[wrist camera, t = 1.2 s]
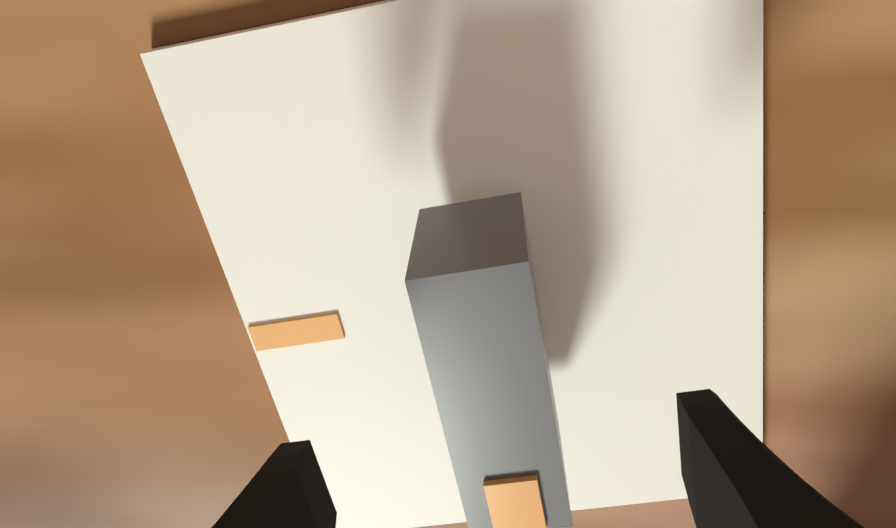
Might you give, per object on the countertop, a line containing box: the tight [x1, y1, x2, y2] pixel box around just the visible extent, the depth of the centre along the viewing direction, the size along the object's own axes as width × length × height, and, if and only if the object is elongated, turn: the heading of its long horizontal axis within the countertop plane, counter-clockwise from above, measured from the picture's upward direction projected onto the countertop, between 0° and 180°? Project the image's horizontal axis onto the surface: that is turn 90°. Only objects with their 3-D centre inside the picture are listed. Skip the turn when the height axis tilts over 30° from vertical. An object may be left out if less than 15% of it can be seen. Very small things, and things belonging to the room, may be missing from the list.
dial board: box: [140, 0, 763, 528], centre depth 19 cm, size 16×14×1 cm
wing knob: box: [405, 192, 573, 528], centre depth 17 cm, size 7×2×5 cm, turn 11°
